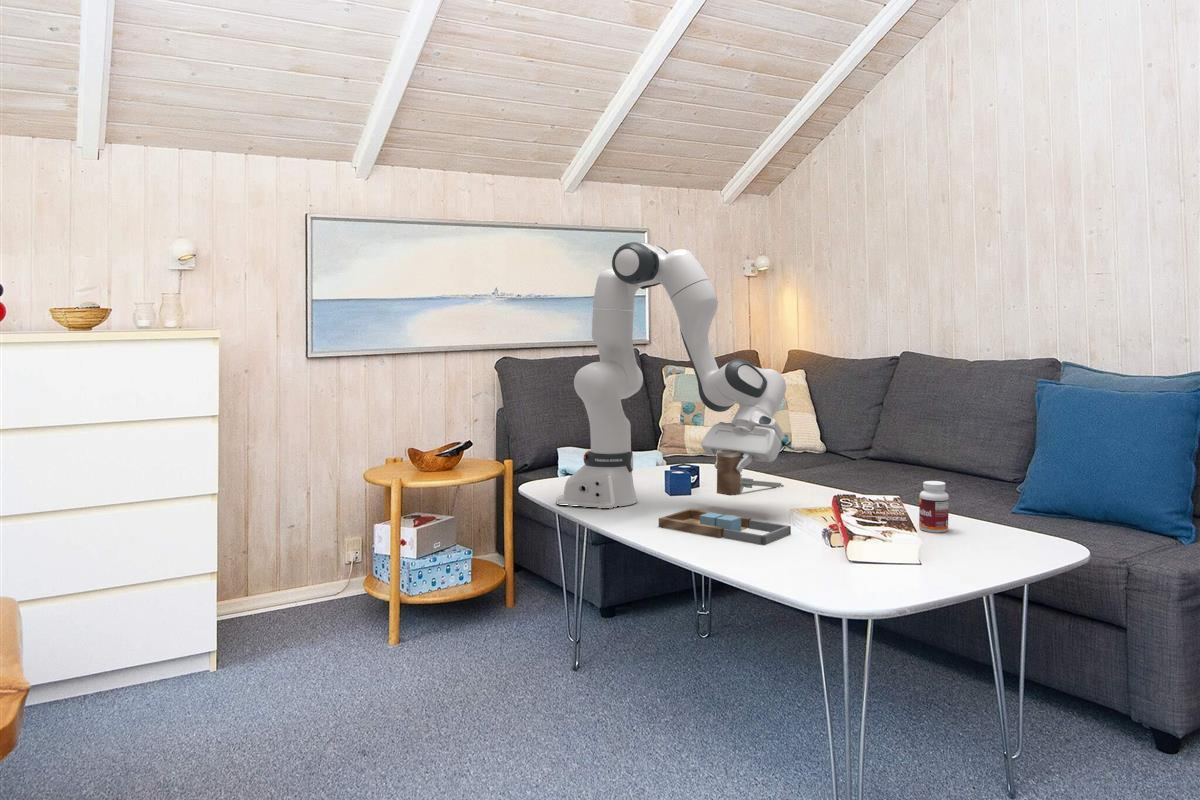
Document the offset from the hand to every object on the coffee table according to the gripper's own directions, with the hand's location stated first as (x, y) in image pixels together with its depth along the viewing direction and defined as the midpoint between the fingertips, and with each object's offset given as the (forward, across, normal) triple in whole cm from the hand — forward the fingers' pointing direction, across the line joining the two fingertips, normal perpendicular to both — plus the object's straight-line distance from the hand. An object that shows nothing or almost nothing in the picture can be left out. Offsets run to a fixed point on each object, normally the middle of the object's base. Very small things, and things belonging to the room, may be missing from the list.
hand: (727, 469), depth 191 cm
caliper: (-18, -15, +38) cm, 44 cm away
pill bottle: (-8, +41, +26) cm, 49 cm away
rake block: (+4, 0, +5) cm, 6 cm away
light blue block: (+15, +7, +1) cm, 17 cm away
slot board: (+16, +1, +2) cm, 17 cm away
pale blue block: (+16, +3, +1) cm, 16 cm away
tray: (+16, +15, +2) cm, 22 cm away
